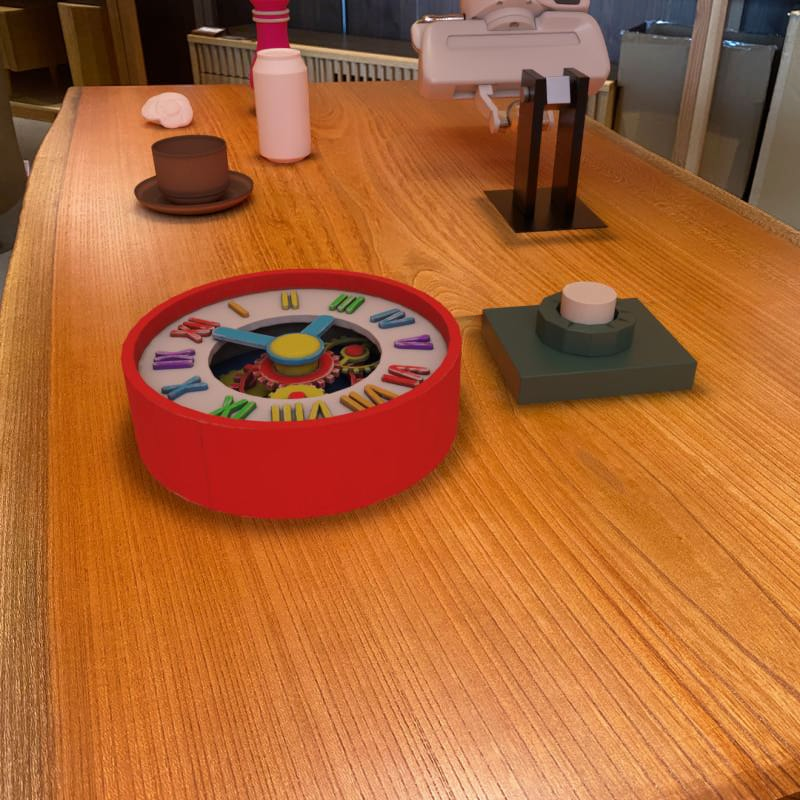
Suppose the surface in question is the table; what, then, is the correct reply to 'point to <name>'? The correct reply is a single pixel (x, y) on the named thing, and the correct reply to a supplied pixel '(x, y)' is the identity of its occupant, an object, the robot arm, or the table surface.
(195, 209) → the cup and saucer
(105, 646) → the table surface
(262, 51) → the beverage can
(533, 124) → the bracket
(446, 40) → the robot arm
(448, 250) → the table surface
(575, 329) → the button box
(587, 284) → the button
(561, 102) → the lever
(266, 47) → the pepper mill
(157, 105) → the spiral seashell
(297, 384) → the toy clock
